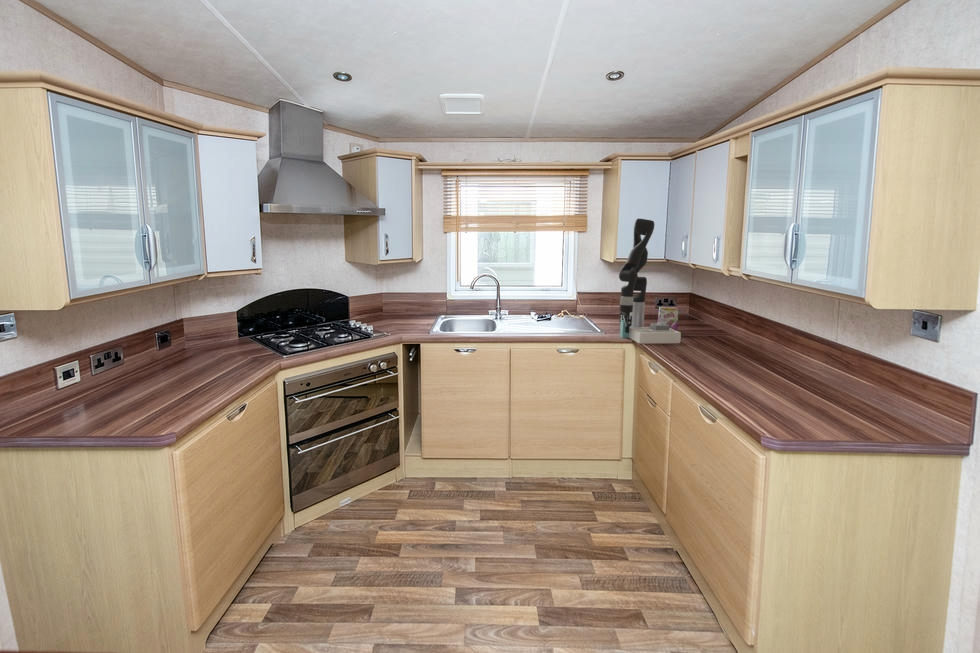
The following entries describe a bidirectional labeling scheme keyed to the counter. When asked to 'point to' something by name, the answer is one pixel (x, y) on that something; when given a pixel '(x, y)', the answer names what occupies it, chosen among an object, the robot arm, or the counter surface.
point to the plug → (623, 330)
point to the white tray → (654, 335)
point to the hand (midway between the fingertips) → (624, 331)
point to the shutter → (659, 326)
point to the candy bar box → (669, 316)
